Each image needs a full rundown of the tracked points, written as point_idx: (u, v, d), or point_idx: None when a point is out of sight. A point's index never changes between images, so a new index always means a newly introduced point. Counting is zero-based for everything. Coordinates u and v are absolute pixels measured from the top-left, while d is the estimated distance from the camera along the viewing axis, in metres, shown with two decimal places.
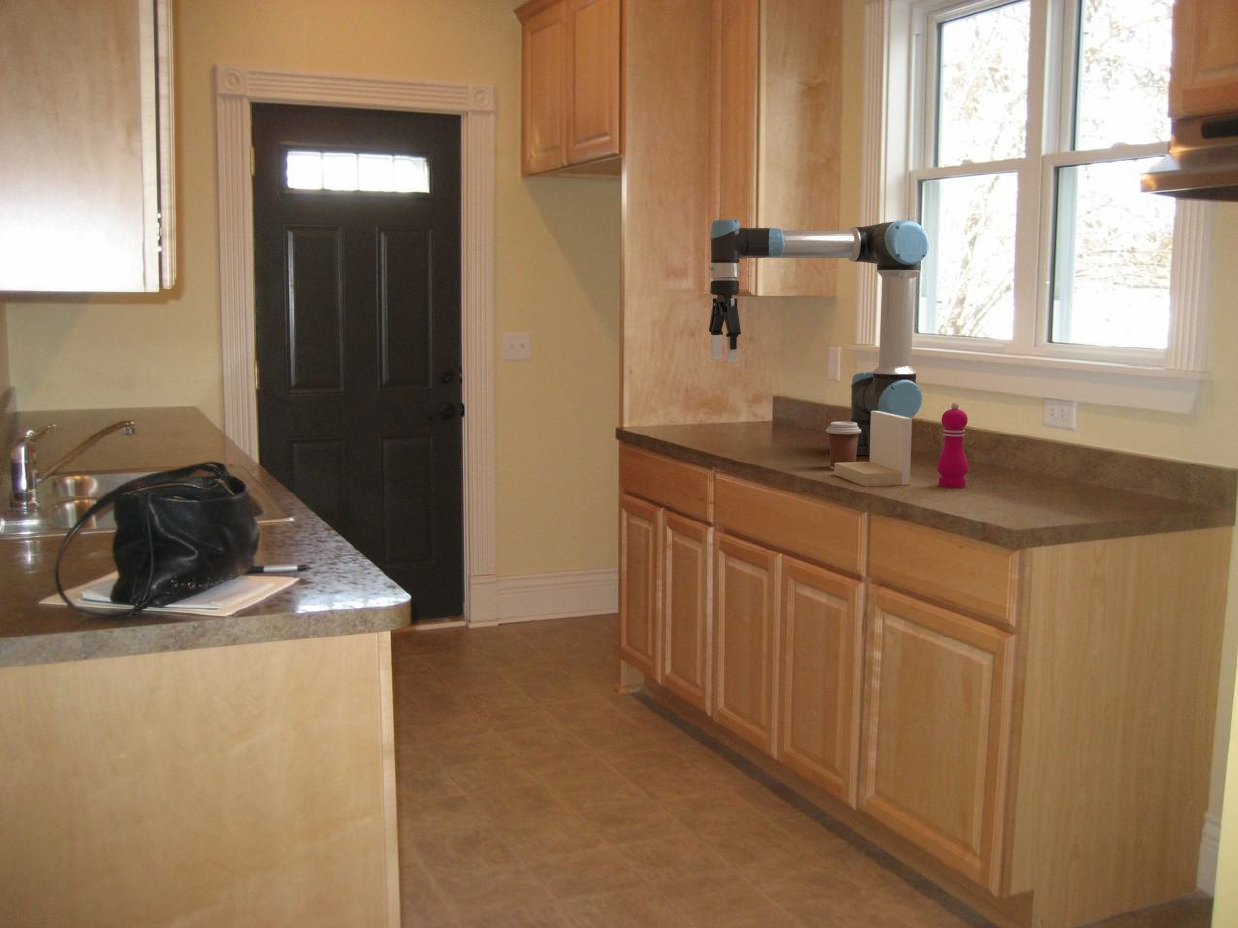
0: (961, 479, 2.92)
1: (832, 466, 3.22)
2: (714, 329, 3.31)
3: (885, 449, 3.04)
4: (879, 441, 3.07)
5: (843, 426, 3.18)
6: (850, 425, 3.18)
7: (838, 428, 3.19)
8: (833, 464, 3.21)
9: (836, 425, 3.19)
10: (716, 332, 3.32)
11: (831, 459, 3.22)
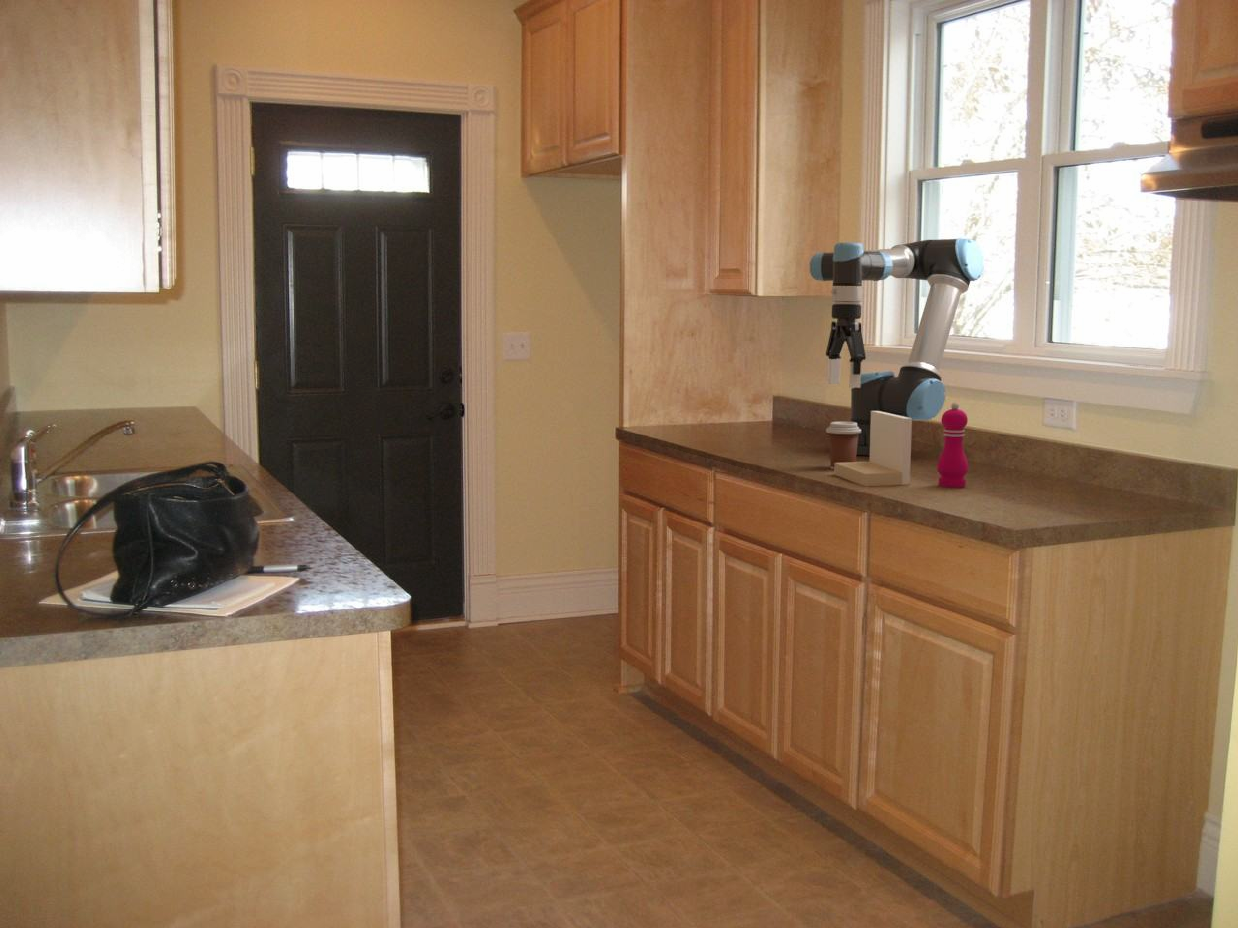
0: (961, 479, 2.92)
1: (832, 466, 3.22)
2: (832, 353, 3.25)
3: (885, 449, 3.04)
4: (879, 441, 3.07)
5: (843, 426, 3.18)
6: (850, 425, 3.18)
7: (838, 428, 3.19)
8: (833, 464, 3.21)
9: (836, 425, 3.19)
10: (834, 356, 3.26)
11: (831, 459, 3.22)
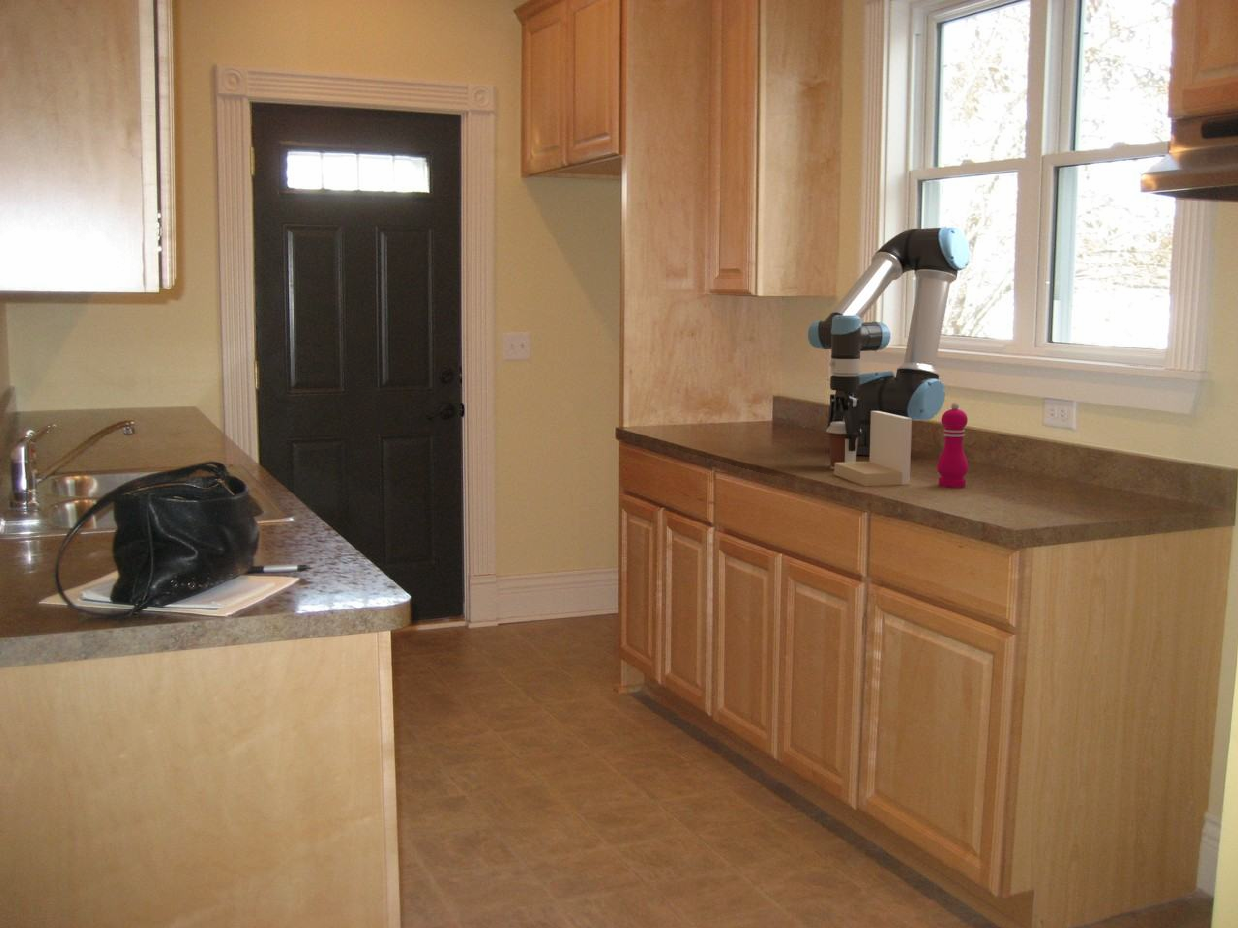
0: (961, 479, 2.92)
1: (832, 466, 3.22)
2: None
3: (885, 449, 3.04)
4: (879, 441, 3.07)
5: (843, 426, 3.18)
6: None
7: (838, 428, 3.19)
8: (833, 464, 3.21)
9: (836, 425, 3.19)
10: None
11: (831, 459, 3.22)
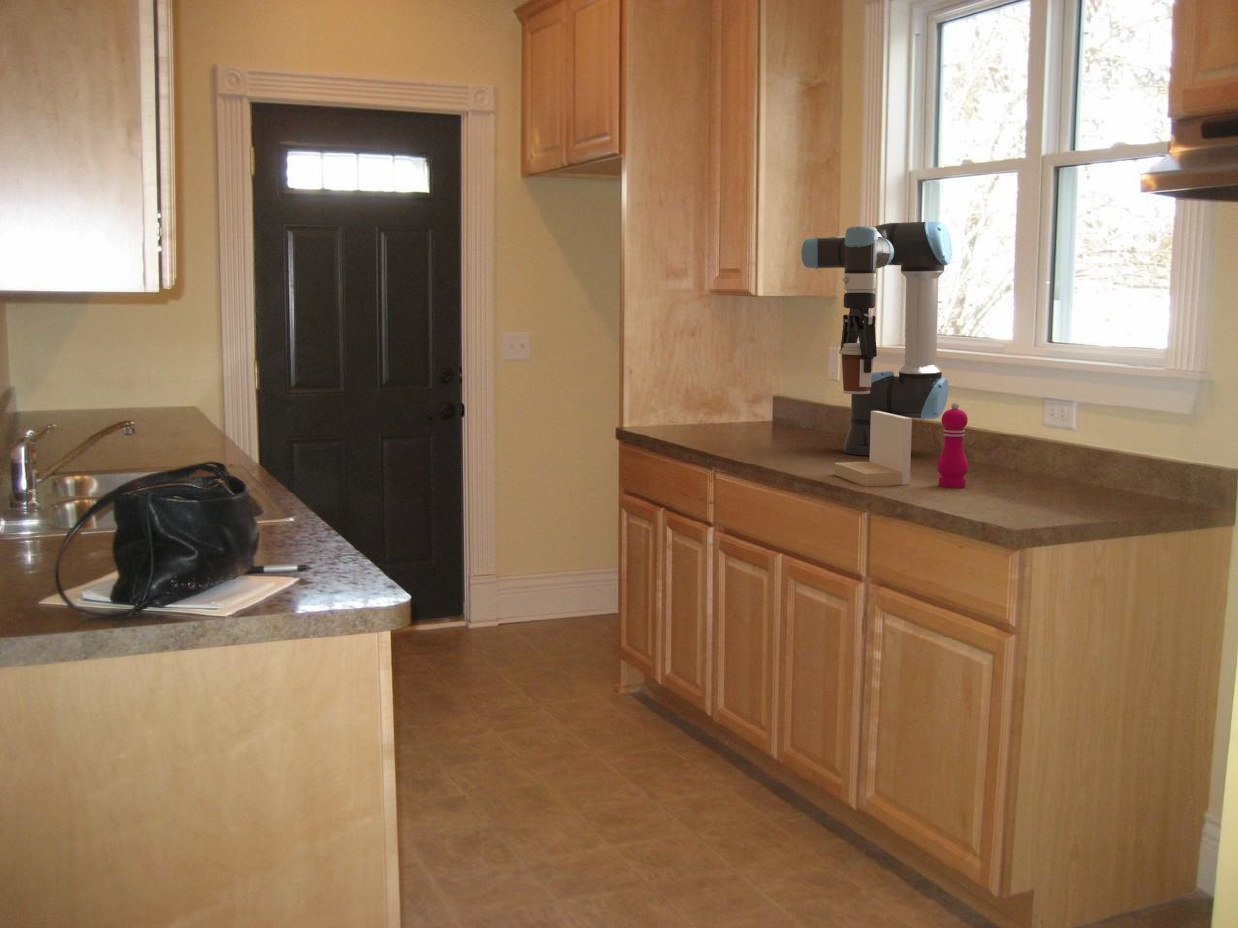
0: (961, 479, 2.92)
1: (845, 390, 2.99)
2: None
3: (885, 449, 3.04)
4: (879, 441, 3.07)
5: (857, 346, 2.95)
6: None
7: (852, 348, 2.96)
8: (847, 388, 2.98)
9: (850, 345, 2.96)
10: None
11: (844, 383, 2.99)
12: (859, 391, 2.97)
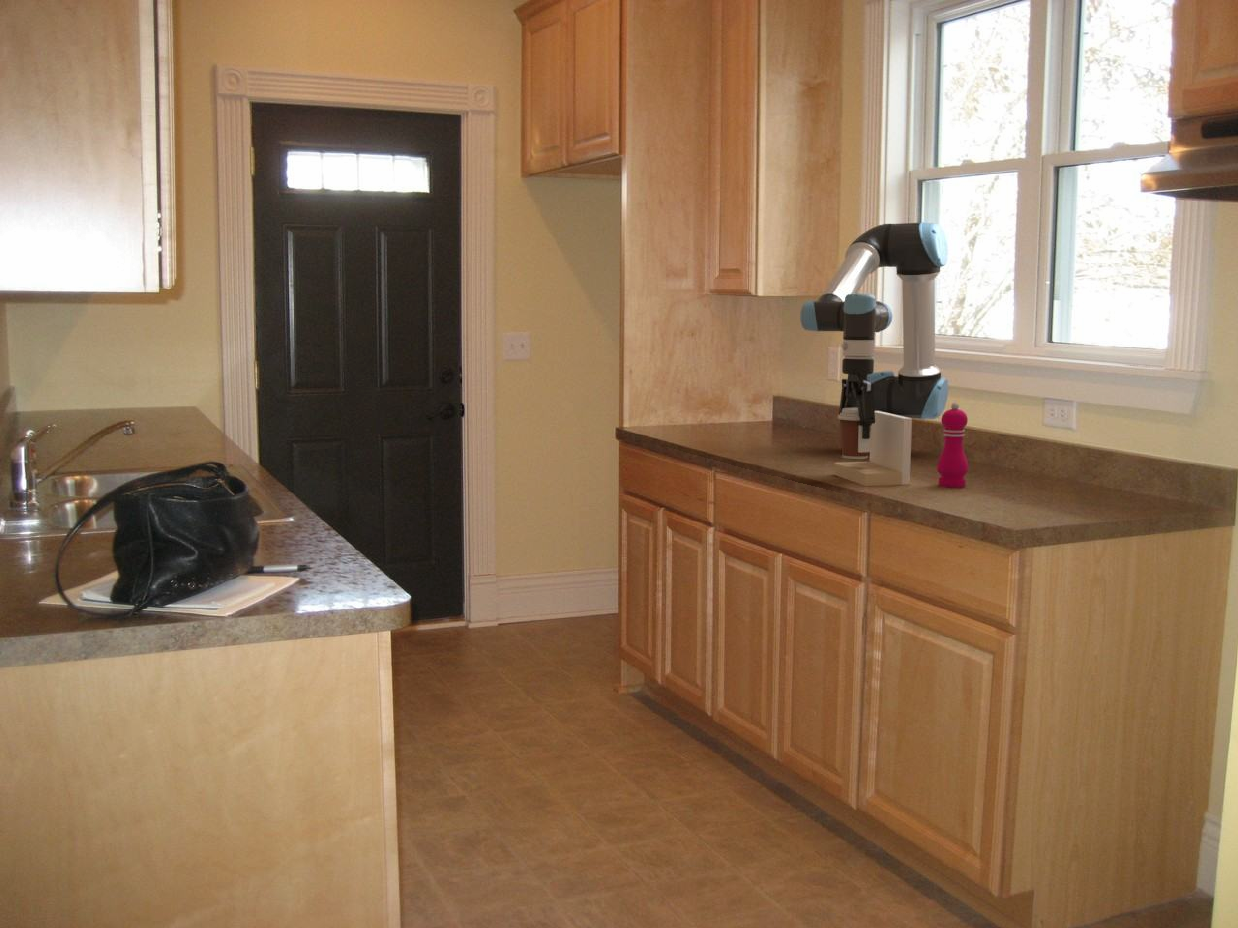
0: (961, 479, 2.92)
1: (844, 455, 3.01)
2: None
3: (885, 449, 3.04)
4: (879, 441, 3.07)
5: (856, 412, 2.97)
6: None
7: (850, 414, 2.98)
8: (845, 453, 3.00)
9: (848, 411, 2.98)
10: None
11: (843, 447, 3.01)
12: (858, 456, 2.99)
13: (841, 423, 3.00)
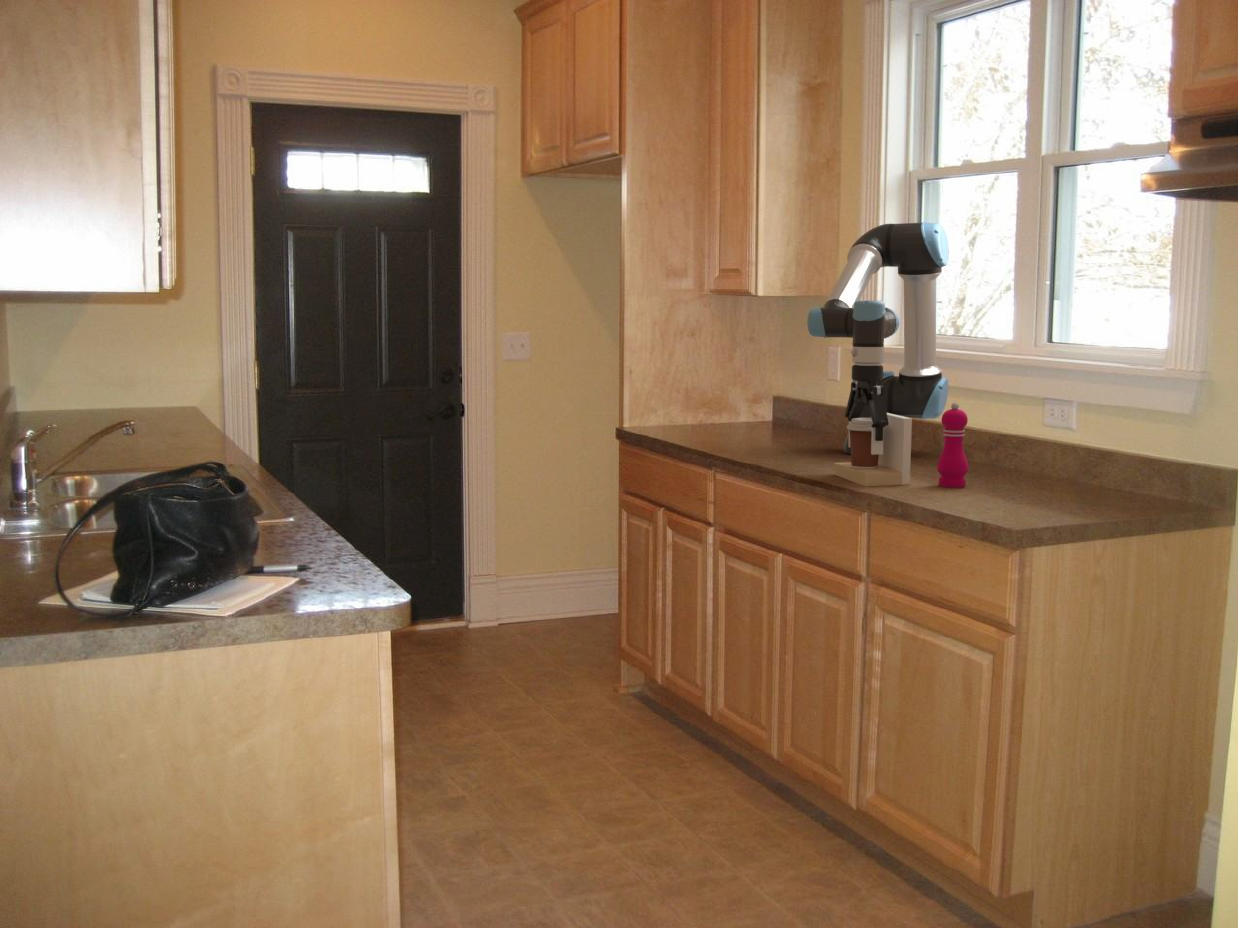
0: (961, 479, 2.92)
1: (853, 465, 3.02)
2: (852, 415, 3.07)
3: (885, 449, 3.04)
4: None
5: (865, 422, 2.98)
6: None
7: (860, 425, 2.99)
8: (855, 463, 3.02)
9: (858, 421, 2.99)
10: None
11: (852, 458, 3.02)
12: (867, 466, 3.00)
13: (850, 433, 3.01)
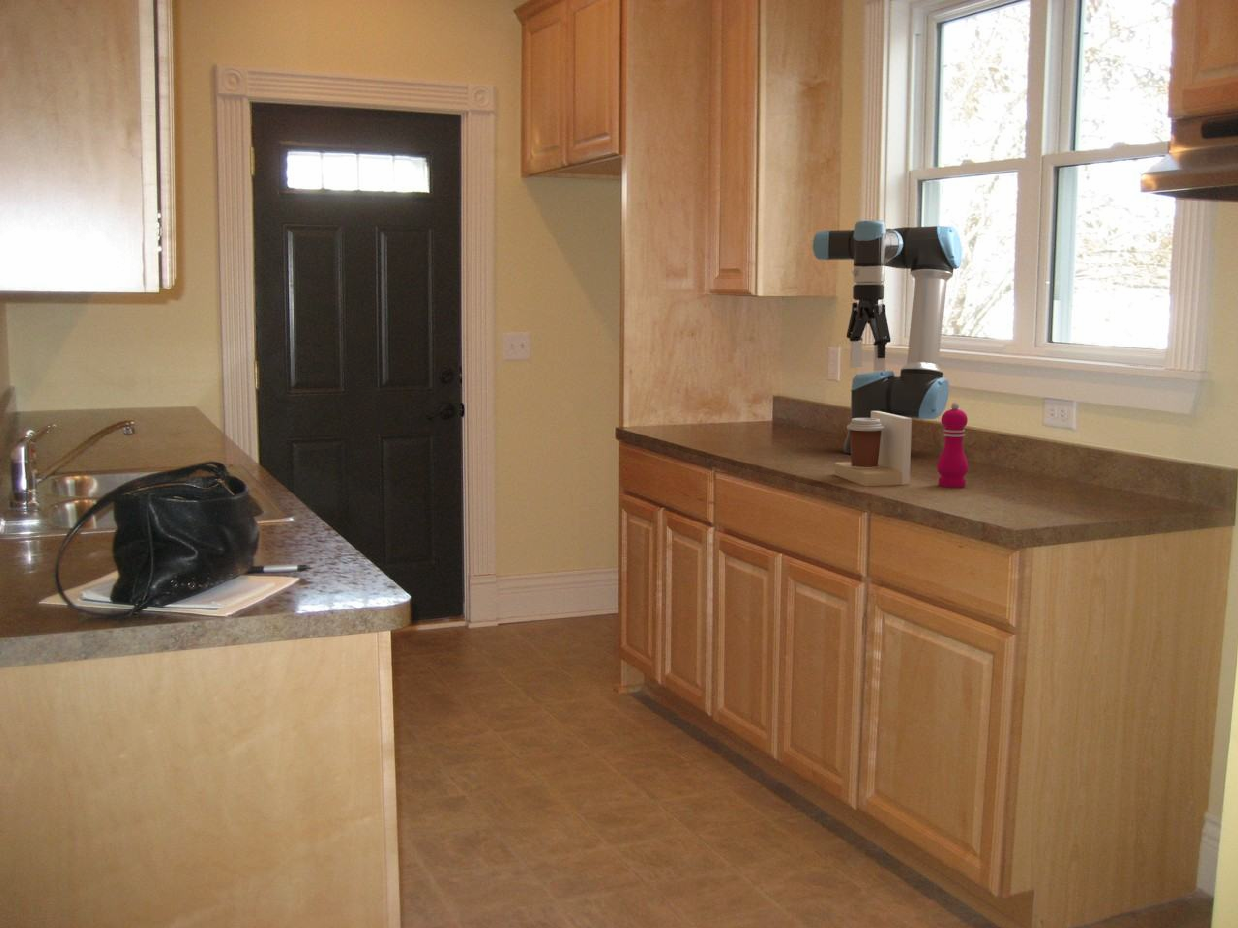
0: (961, 479, 2.92)
1: (853, 465, 3.02)
2: (854, 335, 3.14)
3: (885, 449, 3.04)
4: None
5: (866, 422, 2.98)
6: (873, 421, 2.99)
7: (860, 425, 2.99)
8: (855, 463, 3.02)
9: (858, 421, 2.99)
10: (855, 338, 3.15)
11: (852, 458, 3.02)
12: (867, 466, 3.00)
13: (850, 433, 3.01)
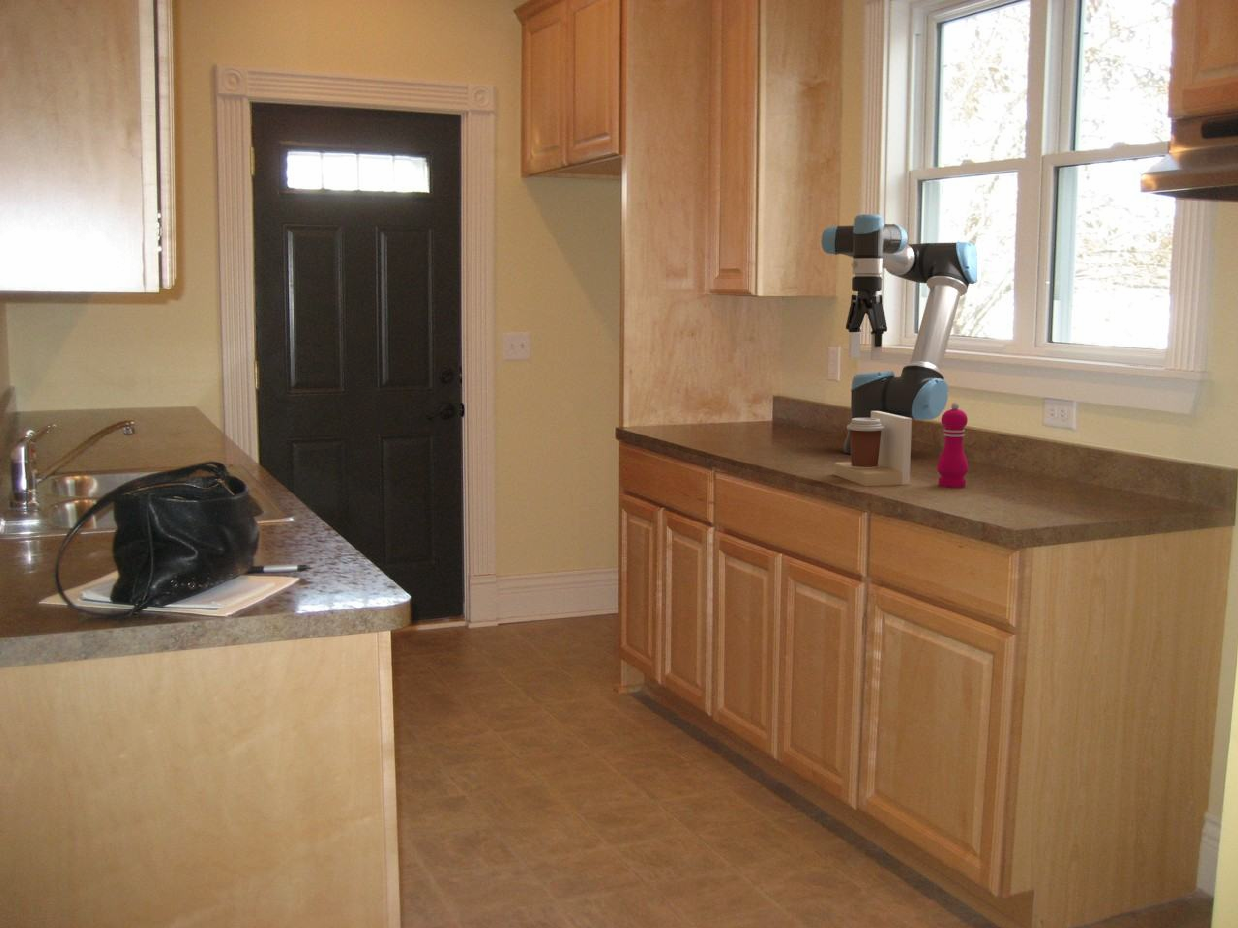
0: (961, 479, 2.92)
1: (853, 465, 3.02)
2: (853, 326, 3.24)
3: (885, 449, 3.04)
4: None
5: (866, 422, 2.98)
6: (873, 421, 2.99)
7: (860, 425, 2.99)
8: (855, 463, 3.02)
9: (858, 421, 2.99)
10: (854, 329, 3.25)
11: (852, 458, 3.02)
12: (867, 466, 3.00)
13: (850, 433, 3.01)
